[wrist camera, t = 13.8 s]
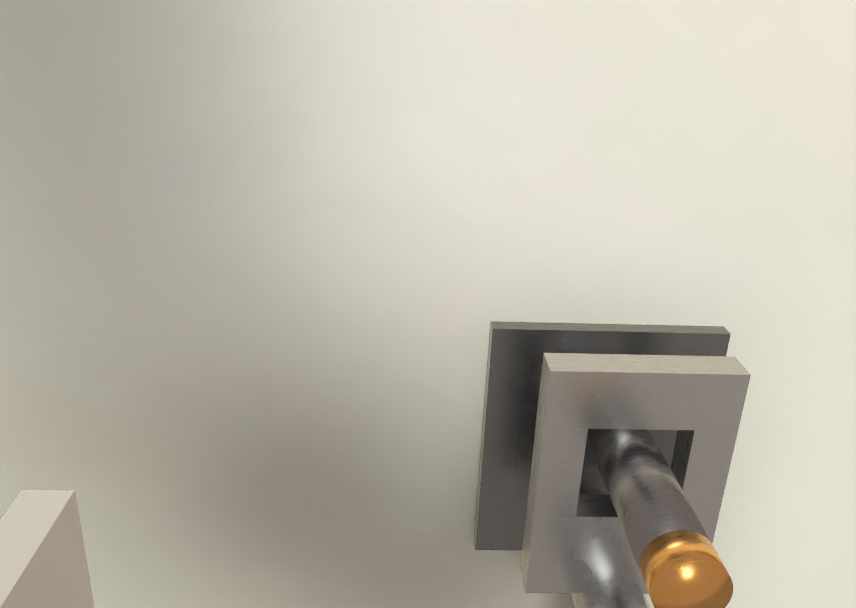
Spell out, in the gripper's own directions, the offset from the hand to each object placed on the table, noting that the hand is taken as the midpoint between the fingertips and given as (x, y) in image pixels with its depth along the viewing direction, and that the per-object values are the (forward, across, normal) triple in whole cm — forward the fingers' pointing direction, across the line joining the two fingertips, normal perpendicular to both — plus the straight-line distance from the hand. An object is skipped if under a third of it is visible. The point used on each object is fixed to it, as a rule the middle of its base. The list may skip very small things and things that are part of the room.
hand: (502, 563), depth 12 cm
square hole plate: (+32, +11, -18) cm, 38 cm away
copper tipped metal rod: (+31, +11, -15) cm, 36 cm away
